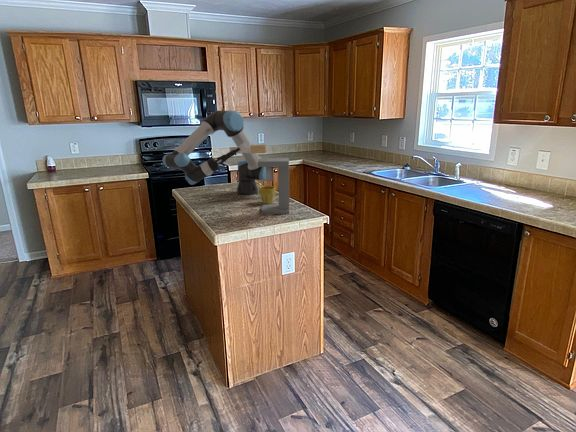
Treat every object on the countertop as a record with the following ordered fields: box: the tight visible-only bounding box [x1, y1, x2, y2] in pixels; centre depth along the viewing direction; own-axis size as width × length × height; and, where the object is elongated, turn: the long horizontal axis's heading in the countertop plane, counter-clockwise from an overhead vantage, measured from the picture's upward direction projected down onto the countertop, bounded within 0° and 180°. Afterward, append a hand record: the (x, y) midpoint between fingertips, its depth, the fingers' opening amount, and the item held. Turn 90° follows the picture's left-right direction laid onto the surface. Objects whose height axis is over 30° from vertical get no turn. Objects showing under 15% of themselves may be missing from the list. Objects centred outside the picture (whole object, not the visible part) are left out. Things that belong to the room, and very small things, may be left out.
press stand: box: [258, 157, 290, 215], centre depth 216 cm, size 12×17×30 cm
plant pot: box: [258, 185, 276, 205], centre depth 237 cm, size 10×10×10 cm
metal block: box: [229, 144, 267, 154], centre depth 209 cm, size 6×20×4 cm, turn 90°
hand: (245, 145), depth 209 cm, fingers closed on metal block, 3 cm apart
